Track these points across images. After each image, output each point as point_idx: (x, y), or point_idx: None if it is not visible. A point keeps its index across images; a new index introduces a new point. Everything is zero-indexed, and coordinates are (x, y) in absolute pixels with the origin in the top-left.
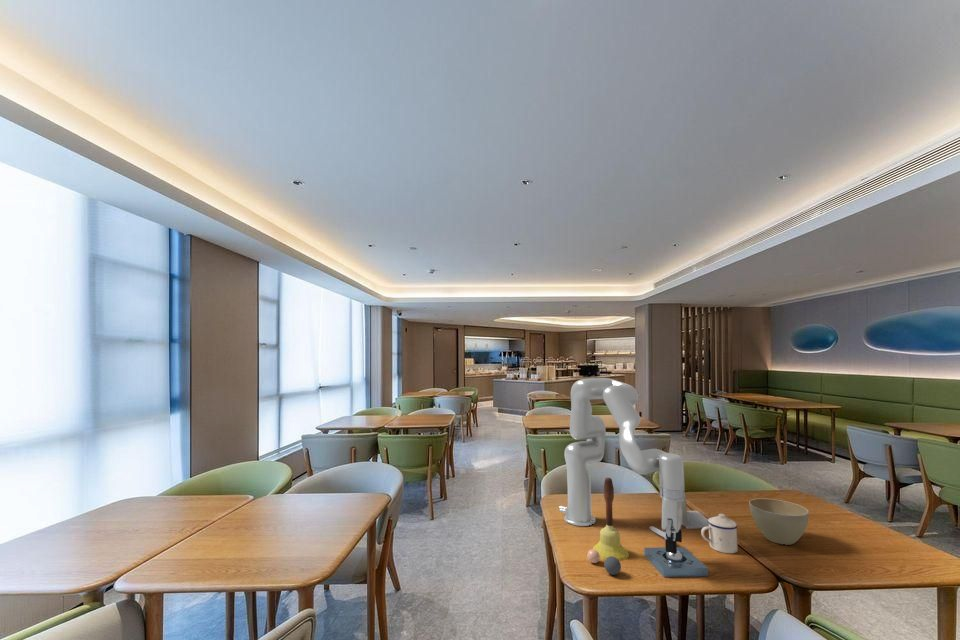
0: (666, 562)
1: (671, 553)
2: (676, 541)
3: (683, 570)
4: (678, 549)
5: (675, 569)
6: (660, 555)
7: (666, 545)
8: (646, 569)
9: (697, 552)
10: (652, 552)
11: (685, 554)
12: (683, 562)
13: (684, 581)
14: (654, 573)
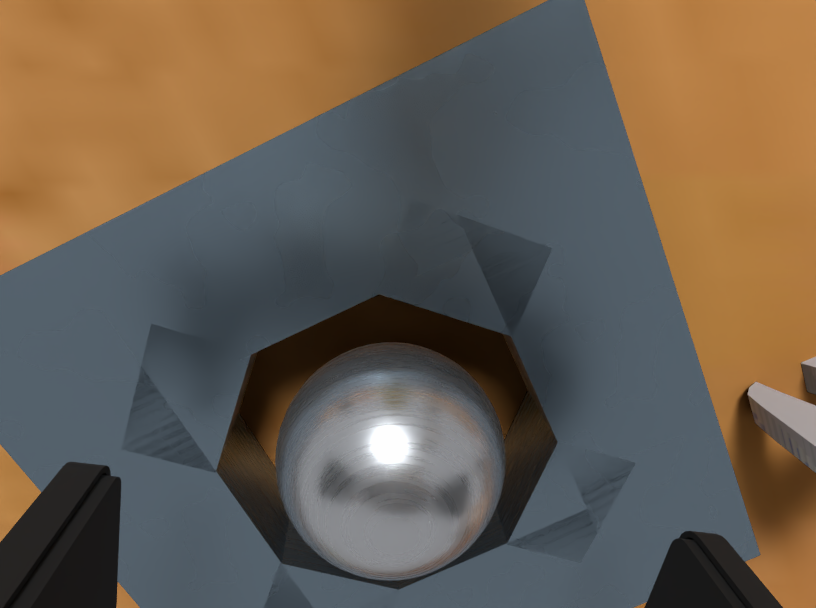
0: (149, 363)
1: (310, 473)
2: (657, 594)
3: None
4: (666, 496)
5: (31, 466)
6: (366, 275)
7: (2, 566)
8: (72, 51)
9: (789, 595)
10: (424, 146)
11: (533, 571)
12: None
13: (29, 494)
14: (14, 169)
